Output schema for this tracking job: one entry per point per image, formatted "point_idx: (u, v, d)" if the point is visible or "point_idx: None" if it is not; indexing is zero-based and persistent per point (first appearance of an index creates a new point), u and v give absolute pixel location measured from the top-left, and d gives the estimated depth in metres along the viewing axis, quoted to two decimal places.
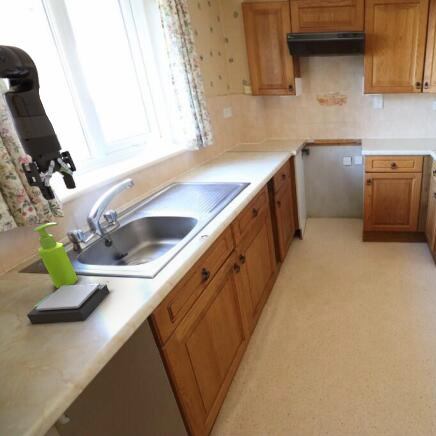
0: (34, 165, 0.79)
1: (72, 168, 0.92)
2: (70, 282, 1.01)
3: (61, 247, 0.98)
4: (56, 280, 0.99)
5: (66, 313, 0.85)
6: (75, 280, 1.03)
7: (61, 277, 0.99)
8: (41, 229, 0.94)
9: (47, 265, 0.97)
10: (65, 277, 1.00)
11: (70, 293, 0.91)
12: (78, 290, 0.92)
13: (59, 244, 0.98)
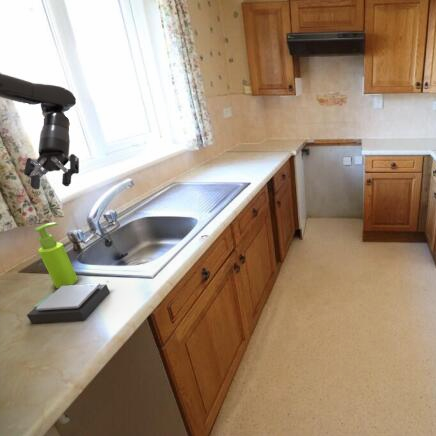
0: None
1: None
2: (70, 282, 1.01)
3: (61, 247, 0.98)
4: (56, 280, 0.99)
5: (66, 313, 0.85)
6: (75, 280, 1.03)
7: (61, 277, 0.99)
8: (41, 229, 0.94)
9: (47, 265, 0.97)
10: (65, 277, 1.00)
11: (70, 293, 0.91)
12: (78, 290, 0.92)
13: (59, 244, 0.98)
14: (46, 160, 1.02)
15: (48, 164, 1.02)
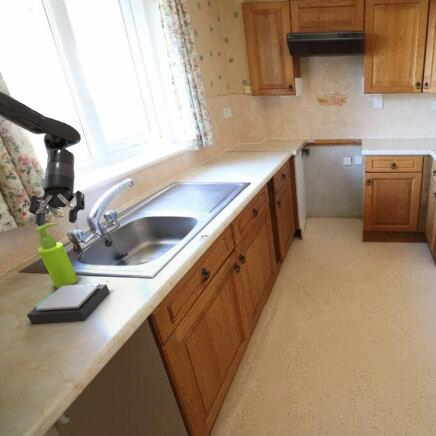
0: None
1: None
2: (70, 282, 1.01)
3: (61, 247, 0.98)
4: (56, 280, 0.99)
5: (66, 313, 0.85)
6: (75, 280, 1.03)
7: (61, 277, 0.99)
8: (41, 229, 0.94)
9: (47, 265, 0.97)
10: (65, 277, 1.00)
11: (70, 293, 0.91)
12: (78, 290, 0.92)
13: (59, 244, 0.98)
14: (52, 197, 1.03)
15: (54, 201, 1.03)
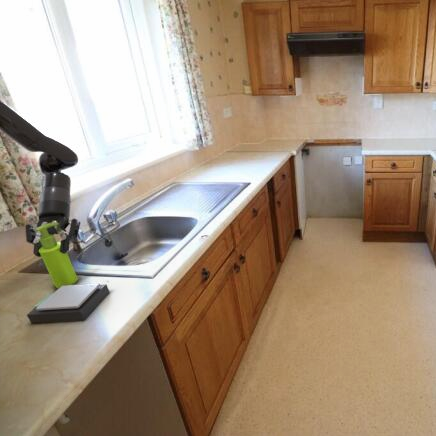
0: None
1: None
2: (70, 282, 1.01)
3: None
4: (56, 280, 0.99)
5: (66, 313, 0.85)
6: (75, 280, 1.03)
7: (61, 277, 0.99)
8: (42, 229, 0.94)
9: (47, 265, 0.97)
10: (65, 277, 1.00)
11: (70, 293, 0.91)
12: (78, 290, 0.92)
13: (60, 244, 0.98)
14: None
15: (49, 228, 0.98)
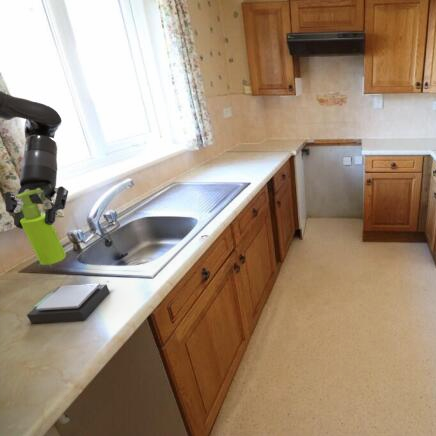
0: None
1: None
2: (57, 258, 0.90)
3: None
4: (40, 255, 0.87)
5: (66, 313, 0.85)
6: (63, 256, 0.91)
7: (47, 252, 0.88)
8: (23, 196, 0.82)
9: (30, 238, 0.85)
10: (51, 252, 0.88)
11: (70, 293, 0.91)
12: (78, 290, 0.92)
13: (44, 214, 0.87)
14: None
15: (32, 196, 0.87)
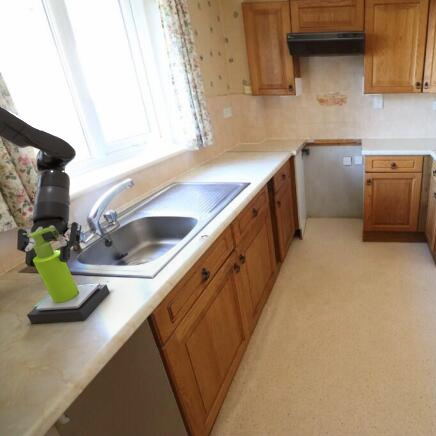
0: None
1: None
2: (70, 296, 0.88)
3: (59, 256, 0.85)
4: (53, 293, 0.86)
5: (66, 313, 0.85)
6: (76, 293, 0.90)
7: (60, 291, 0.86)
8: (36, 235, 0.81)
9: (43, 277, 0.84)
10: (64, 290, 0.87)
11: None
12: None
13: (57, 252, 0.85)
14: None
15: (45, 234, 0.85)
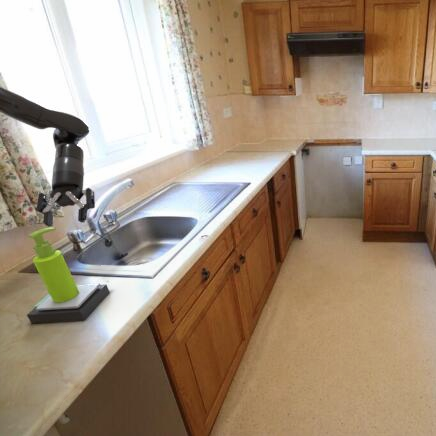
0: None
1: None
2: (70, 296, 0.88)
3: (59, 256, 0.85)
4: (53, 293, 0.86)
5: (66, 313, 0.85)
6: (76, 293, 0.90)
7: (60, 291, 0.86)
8: (36, 235, 0.81)
9: (43, 277, 0.84)
10: (64, 290, 0.87)
11: None
12: None
13: (57, 252, 0.85)
14: (60, 195, 0.96)
15: (63, 199, 0.96)
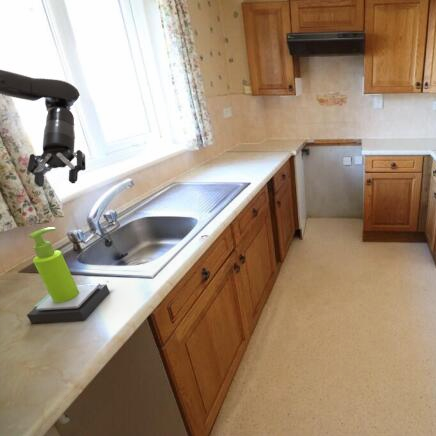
0: None
1: None
2: (70, 296, 0.88)
3: (59, 256, 0.85)
4: (53, 293, 0.86)
5: (66, 313, 0.85)
6: (76, 293, 0.90)
7: (60, 291, 0.86)
8: (36, 235, 0.81)
9: (43, 277, 0.84)
10: (64, 290, 0.87)
11: None
12: None
13: (57, 252, 0.85)
14: (51, 156, 0.98)
15: (53, 160, 0.98)
